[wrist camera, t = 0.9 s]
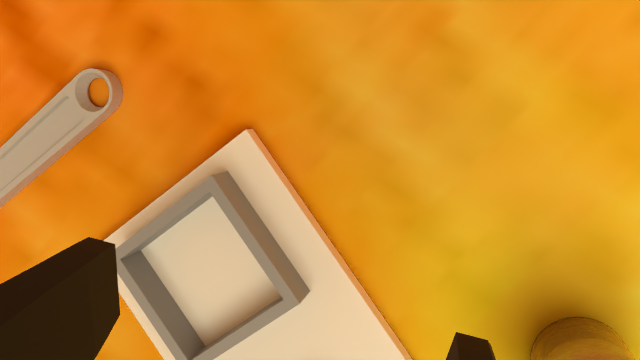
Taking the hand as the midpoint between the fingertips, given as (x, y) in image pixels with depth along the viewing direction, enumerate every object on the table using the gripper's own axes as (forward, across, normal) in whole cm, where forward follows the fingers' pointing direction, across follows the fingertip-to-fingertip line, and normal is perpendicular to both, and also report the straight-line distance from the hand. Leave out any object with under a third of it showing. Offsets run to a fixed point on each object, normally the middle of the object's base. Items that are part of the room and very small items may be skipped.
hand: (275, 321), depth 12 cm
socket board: (+14, +3, +16) cm, 21 cm away
